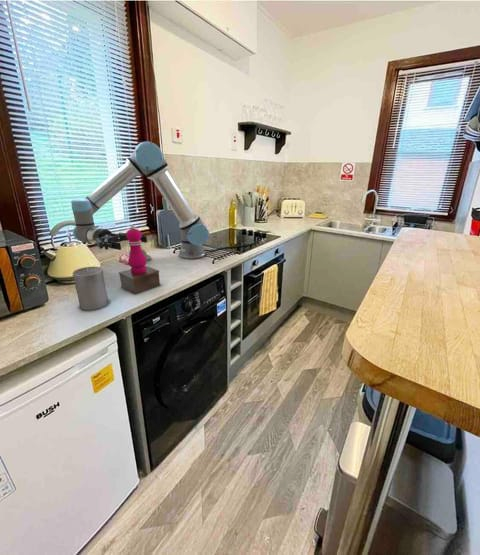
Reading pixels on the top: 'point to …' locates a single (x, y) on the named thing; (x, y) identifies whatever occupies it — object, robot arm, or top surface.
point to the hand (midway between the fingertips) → (133, 242)
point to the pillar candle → (90, 288)
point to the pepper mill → (136, 251)
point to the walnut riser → (139, 280)
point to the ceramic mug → (144, 254)
